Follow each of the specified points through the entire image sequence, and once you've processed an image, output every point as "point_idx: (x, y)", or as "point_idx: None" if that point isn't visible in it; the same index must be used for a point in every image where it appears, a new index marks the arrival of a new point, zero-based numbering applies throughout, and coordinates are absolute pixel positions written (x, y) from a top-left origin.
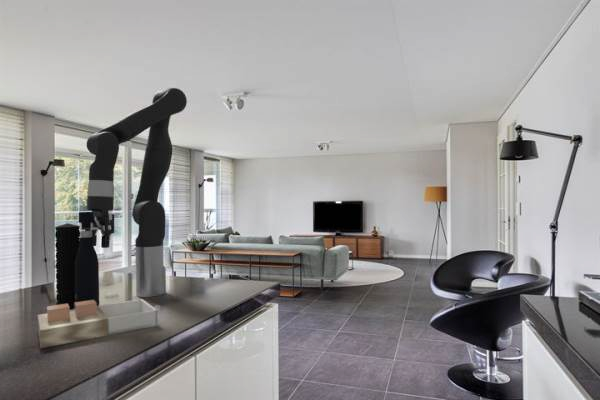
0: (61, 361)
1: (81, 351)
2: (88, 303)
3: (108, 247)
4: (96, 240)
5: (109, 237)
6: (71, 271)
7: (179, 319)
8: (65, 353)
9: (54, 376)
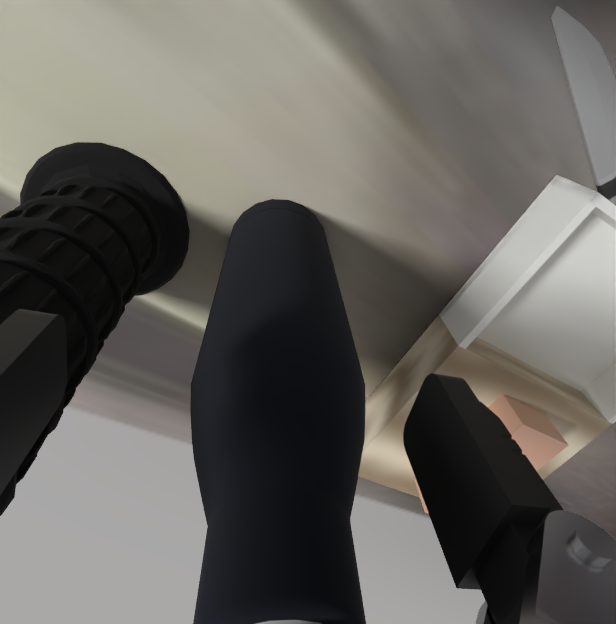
0: (576, 497)
1: (582, 464)
2: (542, 457)
3: (453, 379)
4: (16, 360)
5: (554, 500)
6: (96, 347)
7: None
8: (553, 479)
9: (609, 524)
